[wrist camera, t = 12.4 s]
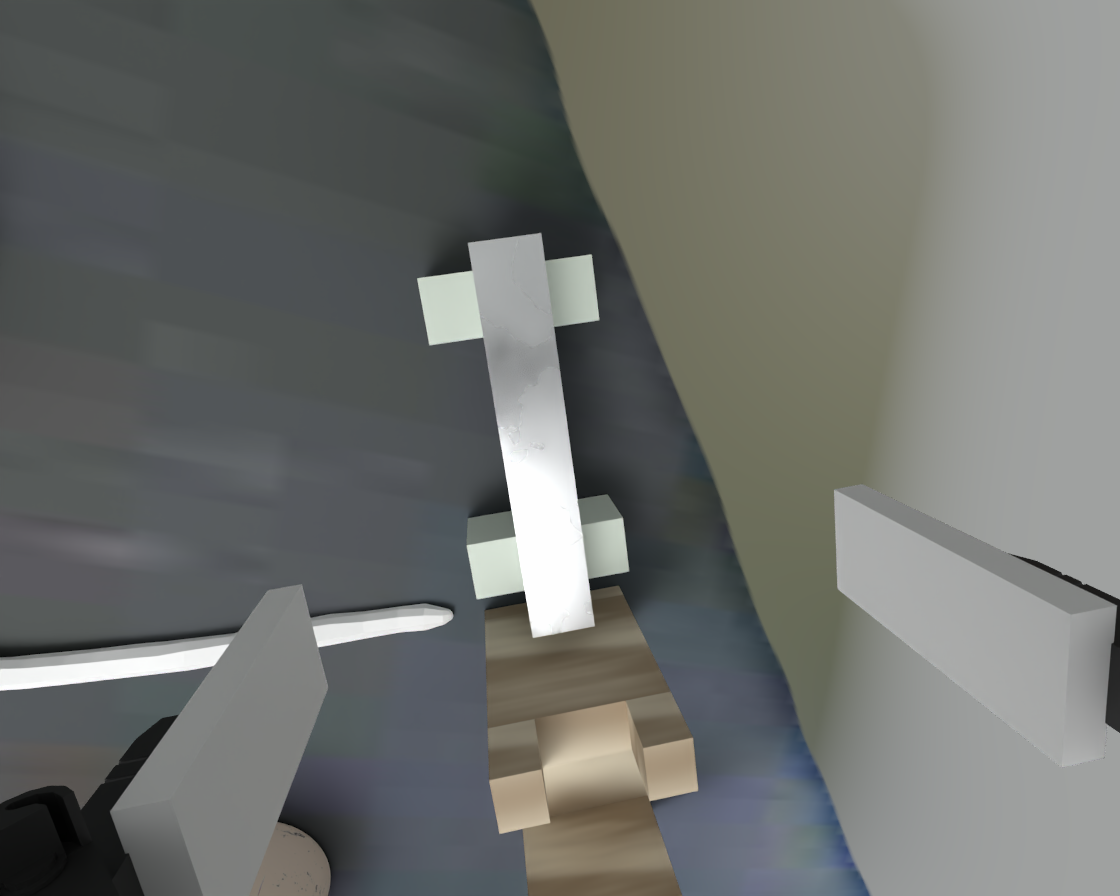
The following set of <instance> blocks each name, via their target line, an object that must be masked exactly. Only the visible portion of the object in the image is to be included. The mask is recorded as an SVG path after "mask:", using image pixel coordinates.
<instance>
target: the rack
mask: <svg viewBox="0 0 1120 896" xmlns="http://www.w3.org/2000/svg"><path fill="white" fill-rule="evenodd" d="M590 595H591V602H592V609H593V617H594V624H595V626H594V627H589V628H583V629H578V630H573V631H568V632H562V633H557V634H552V635H547V636H541V637H536V638H533V636H532V630H531V624H530V618H529V612H528V606H527V603H522V604H516V605H511V606H506V607H500V608H495V609H489V610H485V642H486V679H487V716H488V754H489V782H490V787H491V792H492V797H493V802H494V807H495V813H496V818H497V823H498V828H499V833H500V834H501V833H506V832H511V831H515V830H520V829H523V839H524V850H525V862H526V873H527V885H528V896H682V894H681V891H680V888H679V885H678V882H677V879H676V877H675V874H674V871H673V868H672V865H671V862H670V859H669V856H668V853H667V850H666V847H665V844H664V841H663V839H662V836H661V833H660V830H659V827H658V824H657V821H656V818H655V815H654V812H653V809H652V806H651V803H650V801H653V800H658V799H662V798H667V797H671V796H676V795H681V794H685V793H690V792H694V791H698V783H697V773H696V763H695V753H694V743H693V737H692V735H691V733H690V730H689V728H688V726H687V724H686V722H685V720H684V718H683V716H682V714H681V712H680V710H679V708H678V706H677V704H676V702H675V700H674V698H673V696H672V694H671V692H670V690H669V687H668V685H667V683H666V681H665V679H664V677H663V675H662V673H661V671H660V669H659V667H658V665H657V663H656V661H655V659H654V657H653V655H652V653H651V651H650V649H649V647H648V644H647V642H646V640H645V638H644V636H643V634H642V632H641V630H640V628H639V626H638V624H637V622H636V620H635V618H634V616H633V614H632V612H631V610H630V608H629V606H628V604H627V601H626V599H625V597H624V595H623V593H622V591H621V589H620V587H619V586H613V587H608V588H603V589H597V590H592V591H590Z"/></svg>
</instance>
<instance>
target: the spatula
mask: <svg viewBox="0 0 1120 896" xmlns="http://www.w3.org/2000/svg"><path fill="white" fill-rule="evenodd" d="M452 618H453V612H452V611H451V610H450V609H447V608H443V607H439V606H434V605H430V604H426V603H424V604H416V605H408V606H400V607H392V608H385V609H378V610H371V611H363V612H349V613H336V614H328V615H323V616H317V617H312V618H310V619H311V623H312V627H313V630H314V634H315V638H316V642H317V646H318V647H322V646H328V645H333V644H338V643H344V642H349V641H354V640H359V639H365V638H370V637H376V636H382V635H387V634H393V633H399V632H410V631H423V630H428V629H431V628H434V627H437V626H441V625H444V624H446V623H447V622H449V621H450V620H452ZM237 633H238V632H236V633H232V634H224V635H215V636H206V637H198V638H189V639H181V640H173V641H163V642H152V643H141V644H131V645H123V646H116V647H108V648H99V649H89V650H78V651H67V652H56V653H46V654H35V655H26V656H17V657H0V690H14V689H28V688H37V687H46V686H56V685H65V684H73V683H82V682H91V681H100V680H109V679H118V678H127V677H135V676H144V675H152V674H161V673H169V672H178V671H187V670H193V669H199V668H204V667H210V666H214V665H215V664H216V662H217V661H218V660H219V658H220V657H221V655H222V654H223V653H224V651H225V650H226V648H227V647H228V646H229V644H230V643H231V641H232V640H233V639H234V637H235V636H236V634H237Z"/></svg>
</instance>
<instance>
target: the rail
mask: <svg viewBox="0 0 1120 896" xmlns="http://www.w3.org/2000/svg"><path fill="white" fill-rule="evenodd" d="M468 247H469V253H470V259H471V265H472V271H473V277H474V283H475V290H476V296H477V302H478V308H479V314H480V320H481V326H482V332H483V338H484V344H485V350H486V356H487V363H488V369H489V375H490V381H491V387H492V393H493V399H494V405H495V411H496V417H497V423H498V429H499V436H500V442H501V448H502V454H503V460H504V466H505V472H506V478H507V484H508V490H509V496H510V502H511V509H512V515H513V521H514V527H515V533H516V539H517V545H518V551H519V557H520V563H521V569H522V575H523V582H524V588H525V594H526V600H527V606H528V612H529V618H530V624H531V630H532V636H533V638H536V637H541V636H547V635H552V634H557V633H562V632H568V631H573V630H578V629H583V628H589V627H594V626H595V624H594V617H593V609H592V602H591V595H590V587H589V580H588V573H587V565H586V558H585V551H584V543H583V536H582V529H581V521H580V514H579V507H578V499H577V492H576V485H575V477H574V470H573V463H572V455H571V448H570V441H569V433H568V426H567V419H566V411H565V404H564V397H563V390H562V382H561V375H560V368H559V360H558V353H557V346H556V338H555V331H554V324H553V316H552V309H551V302H550V294H549V287H548V280H547V272H546V265H545V258H544V250H543V243H542V236H541V233H538V234H530V235H523V236H515V237H508V238H500V239H493V240H485V241H478V242H470V243H468Z"/></svg>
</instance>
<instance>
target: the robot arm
mask: <svg viewBox="0 0 1120 896" xmlns="http://www.w3.org/2000/svg"><path fill="white" fill-rule="evenodd" d="M834 502H835V530H836V531H835V532H836V560H837V588H838V590H839V591H841V592H842V593H843V594H845V595H846V596H847V597H848V598H849V599H851V600H852V601H853V602H854V603H856V604H857V605H858V606H859V607H861V608H862V609H863V610H864V611H866V612H867V613H868V614H869V615H871V616H872V617H873V618H874V619H876V620H877V621H878V622H880V623H881V624H882V625H883V626H884V627H886V628H887V629H888V630H890V631H891V632H892V633H893V634H895V635H896V636H897V637H898V638H900V639H901V640H902V641H903V642H905V643H906V644H907V645H908V646H910V647H911V648H912V649H913V650H915V651H916V652H917V653H918V654H920V655H921V656H922V657H923V658H925V659H926V660H927V661H928V662H930V663H931V664H932V665H934V666H935V667H936V668H937V669H938V670H940V671H941V672H942V673H943V674H945V675H946V676H947V677H948V678H950V679H951V680H952V681H953V682H955V683H956V684H957V685H958V686H960V687H961V688H962V689H964V690H965V691H966V692H967V693H968V694H970V695H971V696H972V697H973V698H975V699H976V700H977V701H978V702H980V703H981V704H982V705H983V706H985V707H986V708H987V709H988V710H990V711H991V712H992V713H993V714H995V715H996V716H997V717H999V718H1000V719H1001V720H1002V721H1003V722H1005V723H1006V724H1007V725H1008V726H1010V727H1011V728H1012V729H1013V730H1015V731H1016V732H1017V733H1018V734H1020V735H1021V736H1022V737H1024V738H1025V739H1026V740H1027V741H1028V742H1030V743H1031V744H1032V745H1033V746H1035V747H1036V748H1037V749H1038V750H1040V751H1041V752H1042V753H1043V754H1045V755H1046V756H1047V757H1049V758H1050V759H1051V760H1052V761H1054V762H1055V763H1056V764H1057V765H1058V766H1060V767H1061V768H1064V767H1069V766H1073V765H1077V764H1082V763H1086V762H1090V761H1095V760H1099V759H1104V758H1105V746H1106V734H1107V724H1108V725H1109V726H1111V727H1112V728H1113V729H1115V730H1116V731H1118V732H1119V733H1120V600H1119V599H1117V598H1115V597H1113V596H1111V595H1109V594H1107V593H1104V592H1102V591H1100V590H1098V589H1096V588H1094V587H1091V586H1089V585H1087V584H1086V585H1082V583H1081V581H1079V580H1076V579H1074V578H1072V577H1070V576H1068V575H1062V573H1061V572H1059V571H1057V570H1055V569H1053V568H1051V567H1049V566H1046V565H1044V564H1042V563H1040V562H1038V561H1034V560H1031V559H1027V558H1023V557H1019V556H1016V555H1012V554H1008V553H1006V552H1004V551H1001V550H999V549H997V548H995V547H993V546H991V545H989V544H987V543H985V542H983V541H981V540H978V539H976V538H974V537H972V536H970V535H968V534H966V533H964V532H962V531H960V530H957V529H955V528H953V527H951V526H949V525H947V524H945V523H943V522H941V521H939V520H936V519H934V518H932V517H930V516H928V515H926V514H924V513H922V512H920V511H918V510H915V509H913V508H911V507H909V506H907V505H905V504H903V503H901V502H898V501H897V500H895V499H892V498H890V497H888V496H886V495H884V494H882V493H880V492H878V491H876V490H873V489H871V488H869V487H867V486H865V485H862V484H861V485H856V486H850V487H845V488H839V489H834ZM327 689H328V685H327V681H326V677H325V673H324V670H323V666H322V662H321V658H320V654H319V650H318V646H317V642H316V638H315V634H314V630H313V627H312V623H311V619H310V615H309V611H308V607H307V603H306V599H305V595H304V591H303V587H302V584H301V585H295V586H289V587H284V588H278V589H273V590H268V591H267V592H266V594H265V595H264V597H263V598H262V599H261V601H260V602H259V604H258V605H257V606H256V608H255V609H254V611H253V612H252V613H251V615H250V616H249V618H248V619H247V620H246V622H245V623H244V625H243V626H242V627H241V629H240V630H239V632H238V633H237V634H236V636H235V637H234V639H233V640H232V641H231V643H230V644H229V646H228V647H227V648H226V650H225V651H224V653H223V654H222V655H221V657H220V658H219V660H218V661H217V662H216V664H215V665H214V667H213V668H212V669H211V671H210V672H209V674H208V675H207V676H206V678H205V679H204V681H203V682H202V683H201V685H200V686H199V688H198V689H197V690H196V692H195V693H194V695H193V696H192V697H191V699H190V700H189V702H188V703H187V704H186V706H185V707H184V709H183V710H182V711H181V713H180V714H179V715H176V716H171V717H166V718H162V719H161V720H159V721H158V722H157V723H156V724H154V725H153V726H152V727H151V728H149V729H148V730H147V731H146V732H144V733H143V734H142V735H141V736H139V737H138V738H137V739H136V740H135V741H134V742H133V744H132V745H131V746H130V747H129V749H128V750H127V751H126V753H125V754H124V755H123V757H122V758H121V759H120V760H119V765H116V766H115V767H114V768H113V770H112V771H111V772H110V773H109V775H108V776H107V777H106V779H105V783H104V784H101V785H100V786H99V788H98V789H97V790H96V792H95V793H94V794H93V795H92V797H91V798H90V799H89V801H88V802H87V803H86V804H85V806H84V807H83V808H82V810H80V807H79V804H78V802H77V799H76V797H75V794H74V791H72V790H71V789H69V788H68V787H66V786H47V787H43V788H39V789H35V790H31V791H28V792H25V793H23V794H21V795H19V796H16V797H14V798H12V799H9V800H7V801H5V802H3V803H1V804H0V896H249V895H250V892H251V889H252V887H253V884H254V882H255V879H256V876H257V874H258V871H259V868H260V866H261V863H262V861H263V858H264V855H265V853H266V850H267V847H268V845H269V842H270V839H271V837H272V834H273V832H274V829H275V826H276V824H277V821H278V818H279V816H280V813H281V810H282V808H283V805H284V803H285V800H286V797H287V795H288V792H289V789H290V787H291V784H292V781H293V779H294V776H295V774H296V771H297V768H298V766H299V763H300V760H301V758H302V755H303V753H304V750H305V747H306V745H307V742H308V739H309V737H310V734H311V731H312V729H313V726H314V724H315V721H316V718H317V716H318V713H319V710H320V708H321V705H322V702H323V700H324V697H325V695H326V692H327Z"/></svg>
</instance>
